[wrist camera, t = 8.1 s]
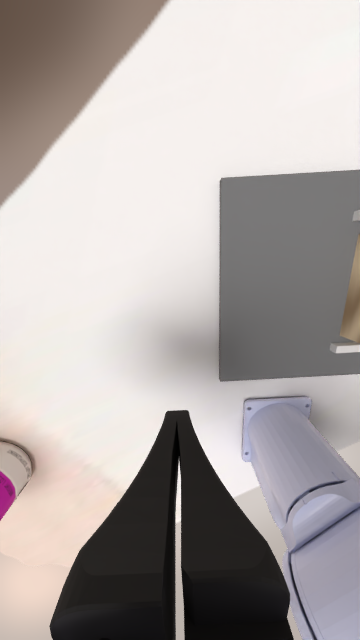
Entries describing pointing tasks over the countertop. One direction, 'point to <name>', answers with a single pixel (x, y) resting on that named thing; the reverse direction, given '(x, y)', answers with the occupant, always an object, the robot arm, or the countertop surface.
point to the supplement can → (12, 474)
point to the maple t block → (353, 302)
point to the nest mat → (287, 274)
